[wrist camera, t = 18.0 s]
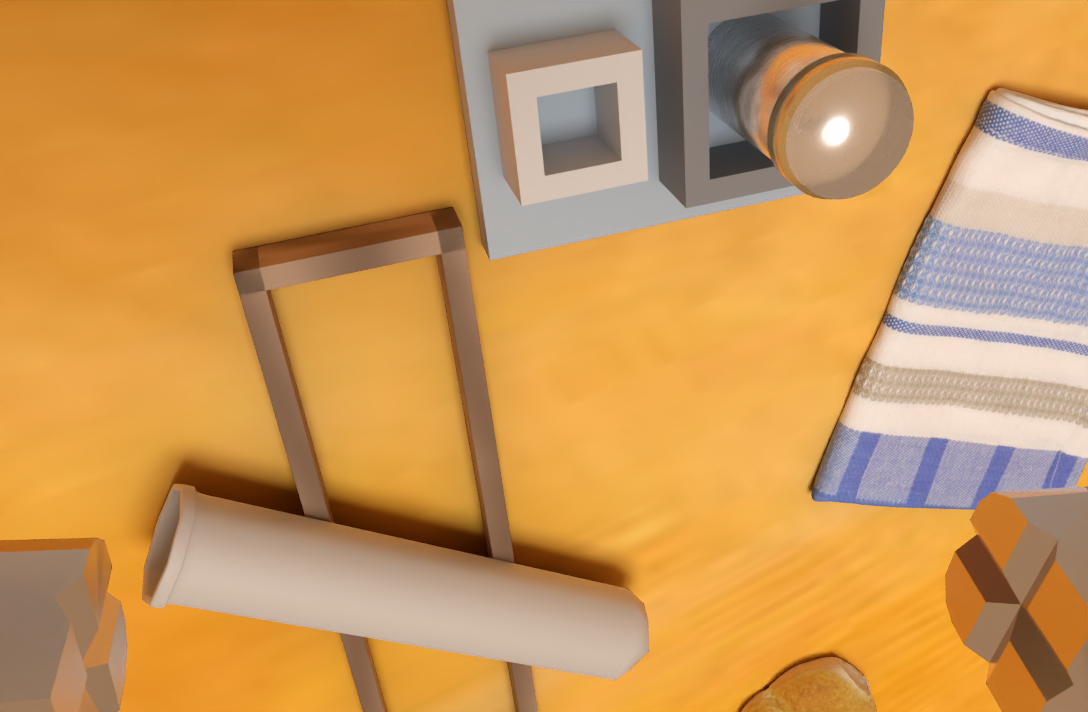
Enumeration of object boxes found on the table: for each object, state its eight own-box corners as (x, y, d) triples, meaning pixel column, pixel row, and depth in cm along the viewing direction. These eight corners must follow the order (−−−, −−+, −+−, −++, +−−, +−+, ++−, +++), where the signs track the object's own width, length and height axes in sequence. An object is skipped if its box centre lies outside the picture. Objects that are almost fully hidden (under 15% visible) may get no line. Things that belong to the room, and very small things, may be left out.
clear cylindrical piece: (675, 118, 42) (769, 197, 35) (709, -4, 39) (815, 55, 32) (779, 132, 43) (888, 210, 36) (816, 15, 41) (940, 75, 34)
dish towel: (1249, 131, 53) (1295, 149, 50) (1033, 499, 63) (1064, 529, 61) (983, 65, 47) (1022, 83, 44) (793, 485, 57) (818, 517, 55)
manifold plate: (482, 245, 44) (506, 293, 40) (439, -51, 38) (463, -26, 34) (826, 173, 47) (879, 211, 43) (842, -115, 40) (905, -98, 36)
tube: (682, 612, 52) (188, 505, 41) (645, 708, 53) (145, 628, 41) (631, 570, 57) (176, 464, 46) (598, 659, 57) (138, 575, 46)
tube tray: (383, 765, 59) (388, 795, 57) (232, 251, 41) (233, 273, 40) (534, 721, 61) (543, 749, 59) (452, 206, 43) (462, 226, 41)
